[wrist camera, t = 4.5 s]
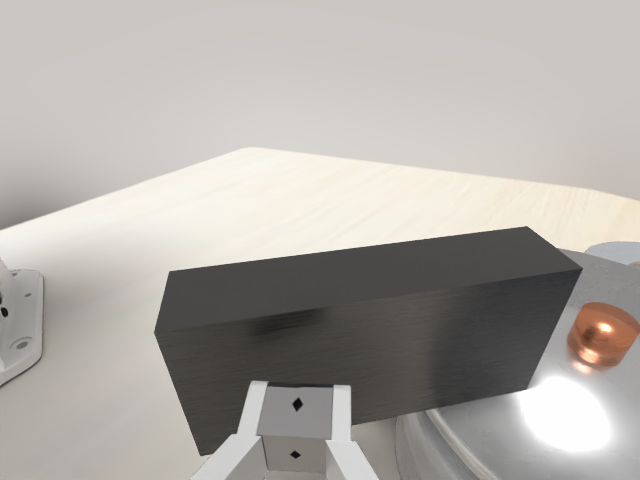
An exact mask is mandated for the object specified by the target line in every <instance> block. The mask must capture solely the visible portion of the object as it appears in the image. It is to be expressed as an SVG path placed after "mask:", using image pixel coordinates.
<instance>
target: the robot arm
mask: <svg viewBox="0 0 640 480" xmlns="http://www.w3.org/2000/svg"><path fill="white" fill-rule="evenodd" d="M42 325H43V277H42V275H41V274H40V273H39V272H38V271H35V270H8V269H7V267H6V266H5V264H4V263H3V261H2V260H1V258H0V385H2V384H3V383H5V382H6V381H8V380H10V379H11V378H13V377H15V376H16V375H18V374H20V373H21V372H23V371H24V370H26V369H28V368H29V367H30V366H32V365H33V364H34V363H36V362H37V361H38V360H39V358H40V357H41V354H42ZM268 470H277V471H300V472H311V473H321V474H326V477H327V479H328V480H379V478H378V477H377V475H376V473H375V472H374V470H373V468H372V467H371V465H370V463H369V462H368V460H367V458H366V457H365V455H364V453H363V452H362V450H361V448H360V447H359V445H358V443H357V442H356V441H351V386H350V385H334V388H333V384H312V383H301V384H299V383H283V382H269V381H252V382H251V384H250V386H249V389H248V393H247V397H246V401H245V404H244V408H243V412H242V416H241V419H240V423H239V427H238V431H237V434H231V435H230V436H229V437H228V439H227V440H226V441H225V442H224V443H223V444H222V445H221V446H220V447H219V448H218V449H217V450H216V451H215V452H214V454H213V455H212V456H211V457H210V458H209V459H208V460H207V461H206V462H205V463H204V464H203V465H202V466H201V467H200V468H199V470H198V471H197V472H196V473H195V474H194V475H193V476H192V477H191V478H190V479H189V480H263V479H264V477H265V476H266V474H267V473H268Z"/></svg>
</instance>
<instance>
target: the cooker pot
mask: <svg viewBox="0 0 640 480" xmlns="http://www.w3.org/2000/svg"><path fill="white" fill-rule="evenodd" d="M395 448H396V458H397V464H398V469H399V473H400V477H401V480H480V479H479V478H478V477H477V476H476V475H475V474H474V473H473V472H472V471H471V470H470V469H469V468H468V467H467V465H466V464H465V463H464V462H463V461H462V460H461V458H460V457H459V456H458V455H457V454H456V453H455V452H454V450H453V449H452V448H451V447H450V446H449V445H448V443H447V442H446V441H445V439H444V438H443V436H442V435H441V434H440V432H439V431H438V429H437V428H436V426H435V425H434V424H433V422H432V421H431V419H430V418H429V416H428V414H427V412H426V411H421V412H416V413H411V414H406V415H401V416H397V421H396V431H395Z"/></svg>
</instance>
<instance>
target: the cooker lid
mask: <svg viewBox="0 0 640 480" xmlns="http://www.w3.org/2000/svg"><path fill="white" fill-rule="evenodd" d="M154 334H155V336H156V339H157V342H158V344H159V347H160V350H161V352H162V355H163V358H164V360H165V363H166V366H167V368H168V371H169V374H170V376H171V379H172V382H173V384H174V387H175V390H176V392H177V395H178V398H179V400H180V403H181V406H182V408H183V411H184V414H185V416H186V419H187V422H188V424H189V427H190V430H191V432H192V435H193V438H194V440H195V443H196V446H197V448H198V451H199V454H200V456H204V455H209V454H214V452H215V451H216V450H217V449H218V448H219V447H220V446H221V445H222V444H223V443H224V442H225V441H226V440H227V439H228V437H229V436H230V435H231V434H237V431H238V427H239V423H240V419H241V416H242V412H243V408H244V404H245V401H246V397H247V393H248V389H249V386H250V384H251V382H252V381H269V382H283V383H299V384H301V383H312V384H333V388H334V385H350V386H351V426H352V425H357V424H362V423H367V422H372V421H377V420H381V419H386V418H391V417H396V416H401V415H406V414H411V413H416V412H421V411H426V412H427V414H428V416H429V418H430V419H431V421H432V422H433V424H434V425H435V426H436V428H437V429H438V431H439V432H440V434H441V435H442V436H443V438H444V439H445V441H446V442H447V443H448V445H449V446H450V447H451V448H452V449H453V450H454V452H455V453H456V454H457V455H458V456H459V457H460V458H461V460H462V461H463V462H464V463H465V464H466V465H467V467H468V468H469V469H470V470H471V471H472V472H473V473H474V474H475V475H476V476H477V477H478V478H479V479H480V480H640V270H639V269H636V268H633V267H630V266H628V265H625V264H622V263H618V262H615V261H611V260H608V259H605V258H601V257H597V256H593V255H589V254H585V253H580V252H575V251H570V250H564V249H559V248H555V247H554V246H553V245H551V244H550V243H549V242H547V241H546V240H545V239H543V238H542V237H541V236H539V235H538V234H537V233H535V232H534V231H533V230H531V229H530V228H529V227H527V226H526V227H518V228H510V229H502V230H494V231H486V232H478V233H470V234H462V235H454V236H446V237H439V238H431V239H423V240H415V241H407V242H399V243H391V244H383V245H375V246H367V247H359V248H351V249H343V250H335V251H328V252H320V253H312V254H304V255H296V256H288V257H280V258H272V259H264V260H256V261H248V262H240V263H232V264H224V265H217V266H209V267H201V268H193V269H185V270H177V271H169V275H168V279H167V283H166V287H165V291H164V295H163V299H162V303H161V307H160V311H159V315H158V319H157V323H156V327H155V331H154Z"/></svg>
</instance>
